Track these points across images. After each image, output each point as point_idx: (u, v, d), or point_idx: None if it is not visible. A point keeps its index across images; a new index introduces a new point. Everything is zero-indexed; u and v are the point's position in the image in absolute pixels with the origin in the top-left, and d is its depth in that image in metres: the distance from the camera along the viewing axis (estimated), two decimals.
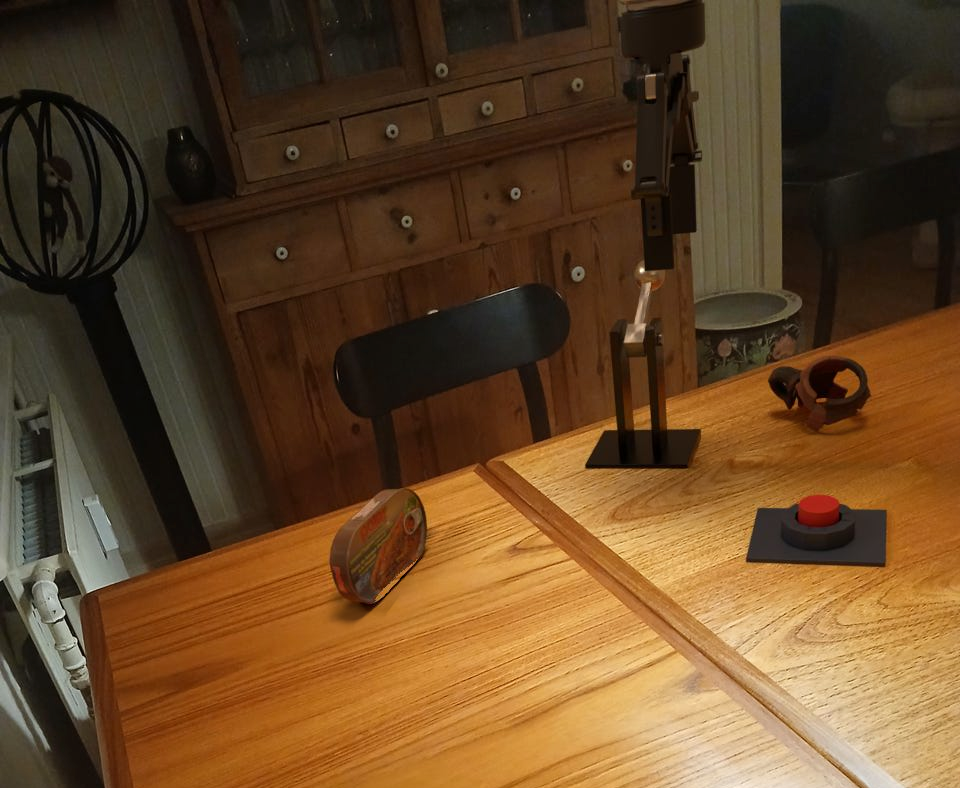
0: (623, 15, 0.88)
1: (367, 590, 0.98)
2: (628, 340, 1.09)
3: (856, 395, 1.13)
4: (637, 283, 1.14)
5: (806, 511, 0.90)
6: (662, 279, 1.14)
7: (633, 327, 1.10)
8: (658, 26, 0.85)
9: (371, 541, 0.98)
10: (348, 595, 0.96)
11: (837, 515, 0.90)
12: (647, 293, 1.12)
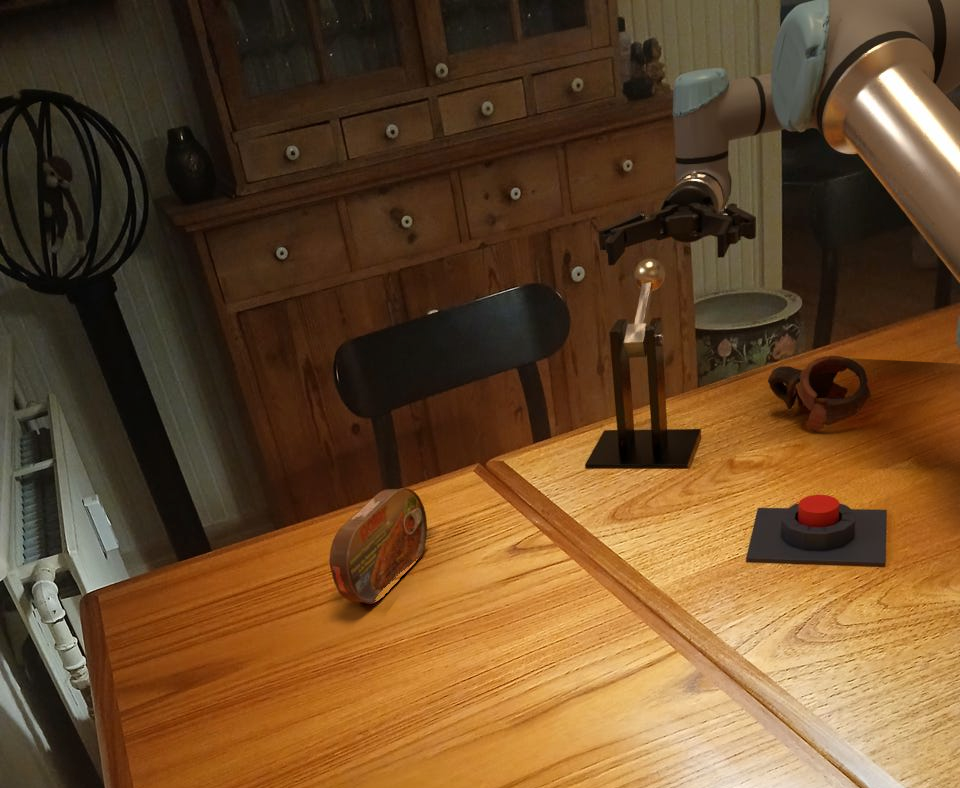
0: None
1: (367, 590, 0.98)
2: (628, 340, 1.09)
3: (856, 395, 1.13)
4: (637, 283, 1.14)
5: (806, 511, 0.90)
6: (662, 279, 1.14)
7: (633, 327, 1.10)
8: (717, 211, 1.35)
9: (371, 541, 0.98)
10: (348, 595, 0.96)
11: (837, 515, 0.90)
12: (647, 293, 1.12)
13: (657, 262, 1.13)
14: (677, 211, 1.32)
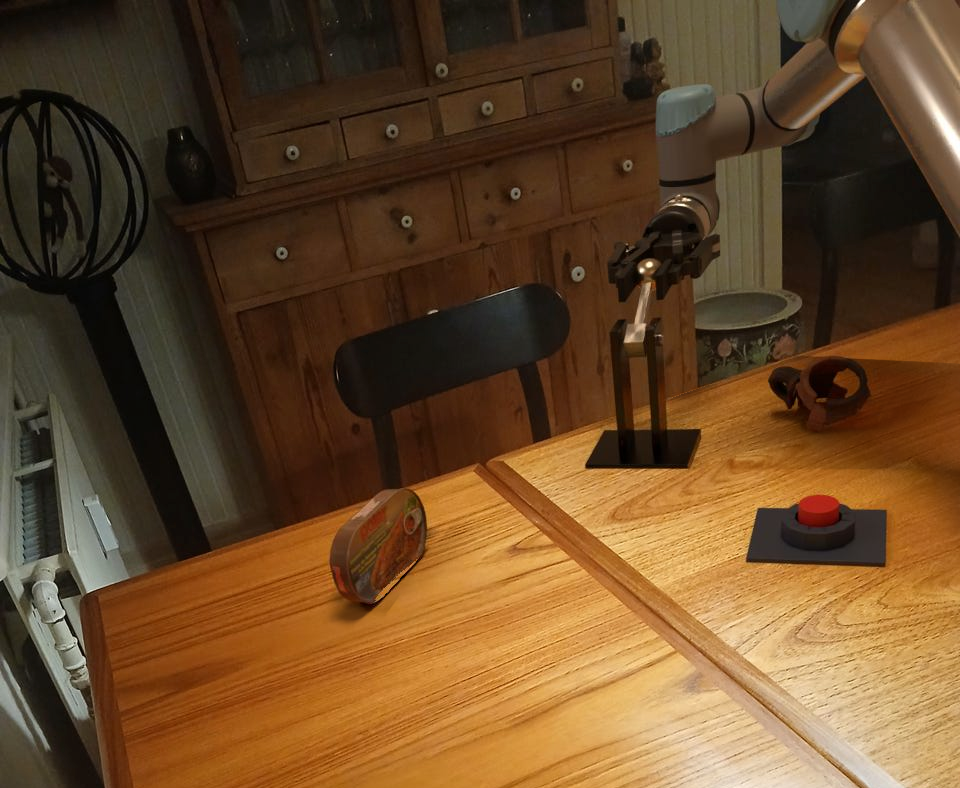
0: None
1: (367, 590, 0.98)
2: (628, 340, 1.09)
3: (856, 395, 1.13)
4: (637, 283, 1.14)
5: (806, 511, 0.90)
6: None
7: (633, 327, 1.10)
8: None
9: (371, 541, 0.98)
10: (348, 595, 0.96)
11: (837, 515, 0.90)
12: (647, 293, 1.12)
13: (657, 262, 1.13)
14: (659, 239, 1.22)
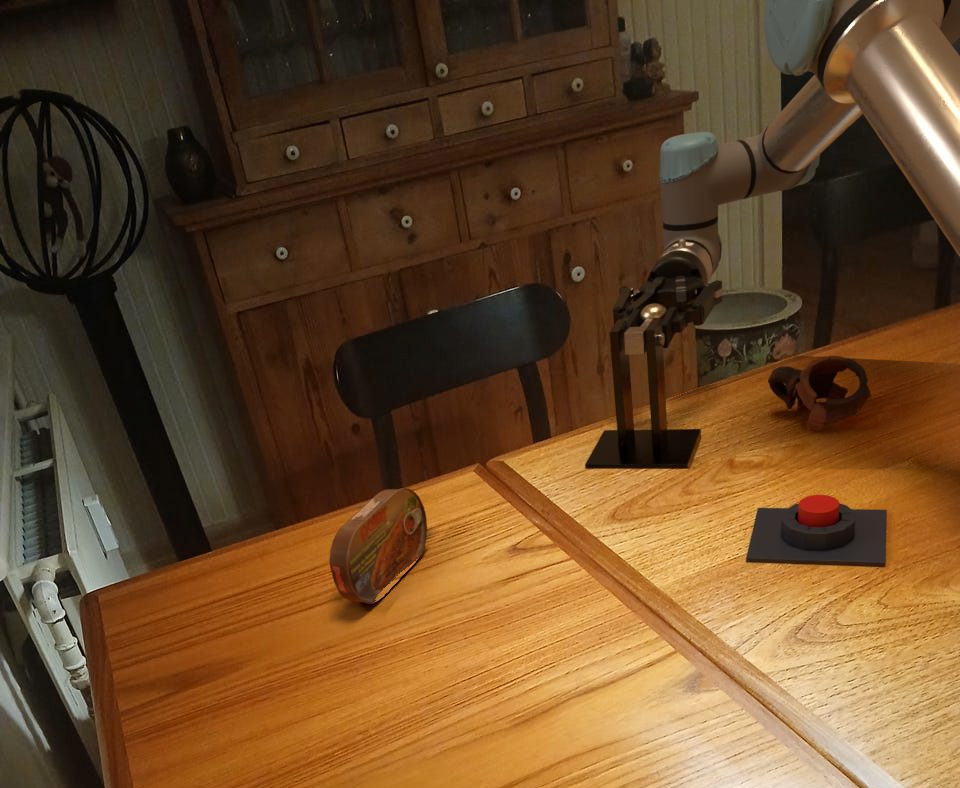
0: None
1: (367, 590, 0.98)
2: (629, 332, 1.09)
3: (856, 395, 1.13)
4: (641, 321, 1.18)
5: (806, 511, 0.90)
6: None
7: (635, 327, 1.10)
8: (705, 282, 1.30)
9: (371, 541, 0.98)
10: (348, 595, 0.96)
11: (837, 515, 0.90)
12: (650, 321, 1.15)
13: (663, 306, 1.18)
14: (663, 284, 1.26)
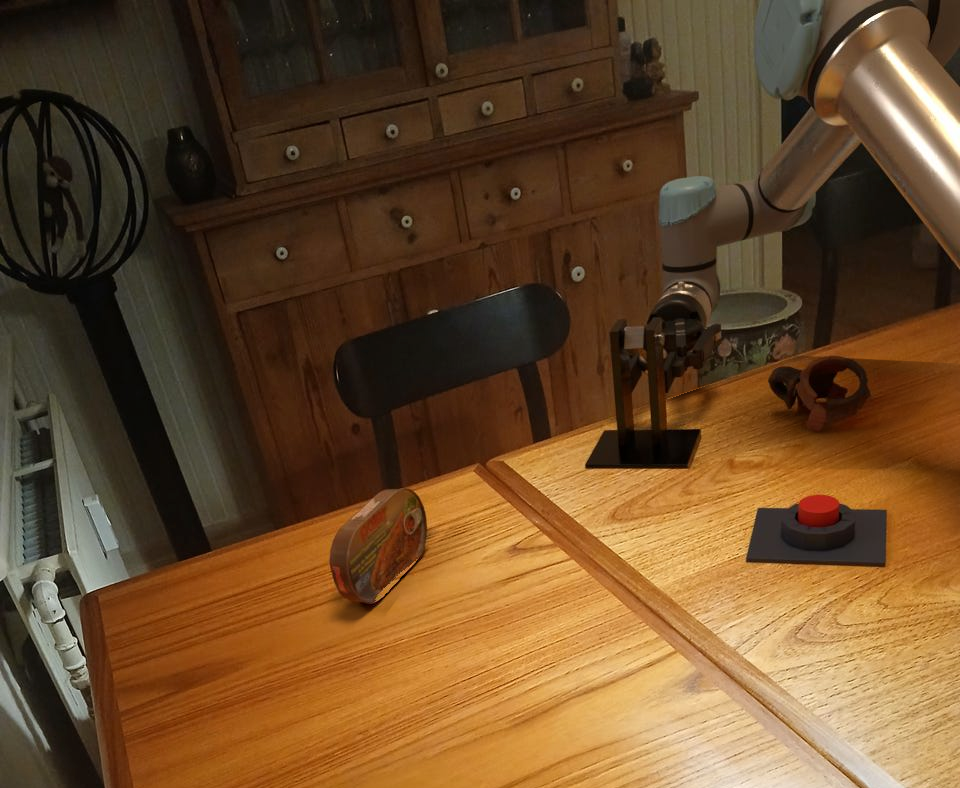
0: None
1: (367, 590, 0.98)
2: (630, 327, 1.09)
3: (856, 395, 1.13)
4: (641, 358, 1.19)
5: (806, 511, 0.90)
6: (665, 359, 1.18)
7: None
8: (705, 324, 1.31)
9: (371, 541, 0.98)
10: (348, 595, 0.96)
11: (837, 515, 0.90)
12: None
13: None
14: (663, 327, 1.28)
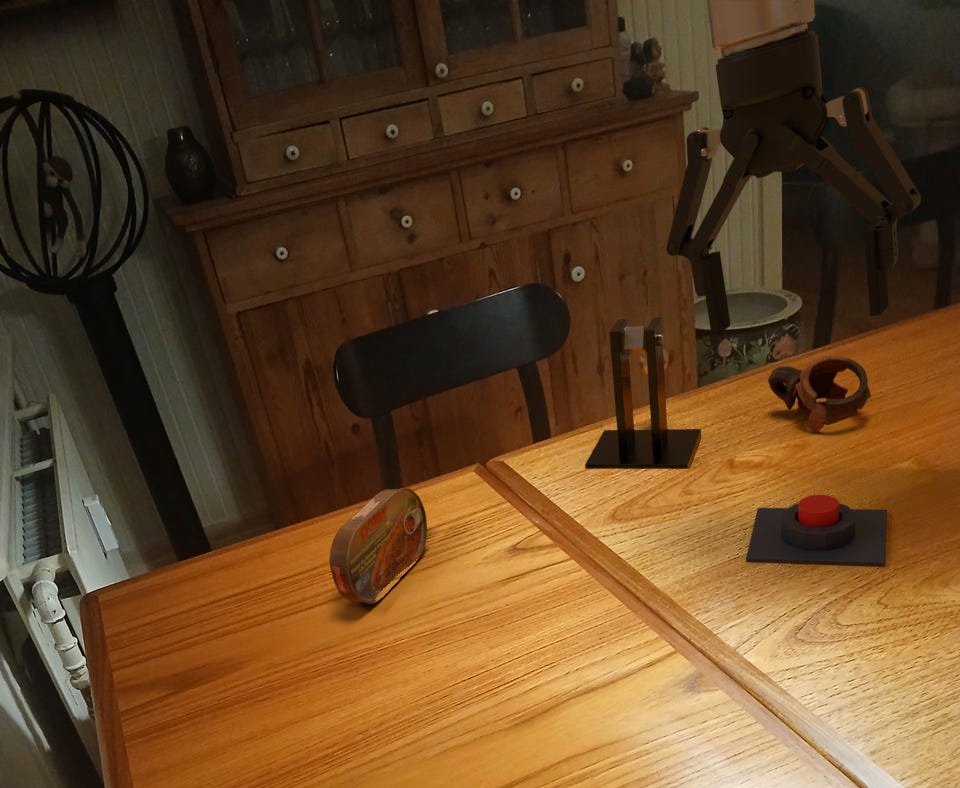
0: None
1: (367, 590, 0.98)
2: (630, 327, 1.09)
3: (856, 395, 1.13)
4: (641, 358, 1.19)
5: (806, 511, 0.90)
6: (665, 359, 1.18)
7: None
8: None
9: (371, 541, 0.98)
10: (348, 595, 0.96)
11: (837, 515, 0.90)
12: None
13: None
14: None
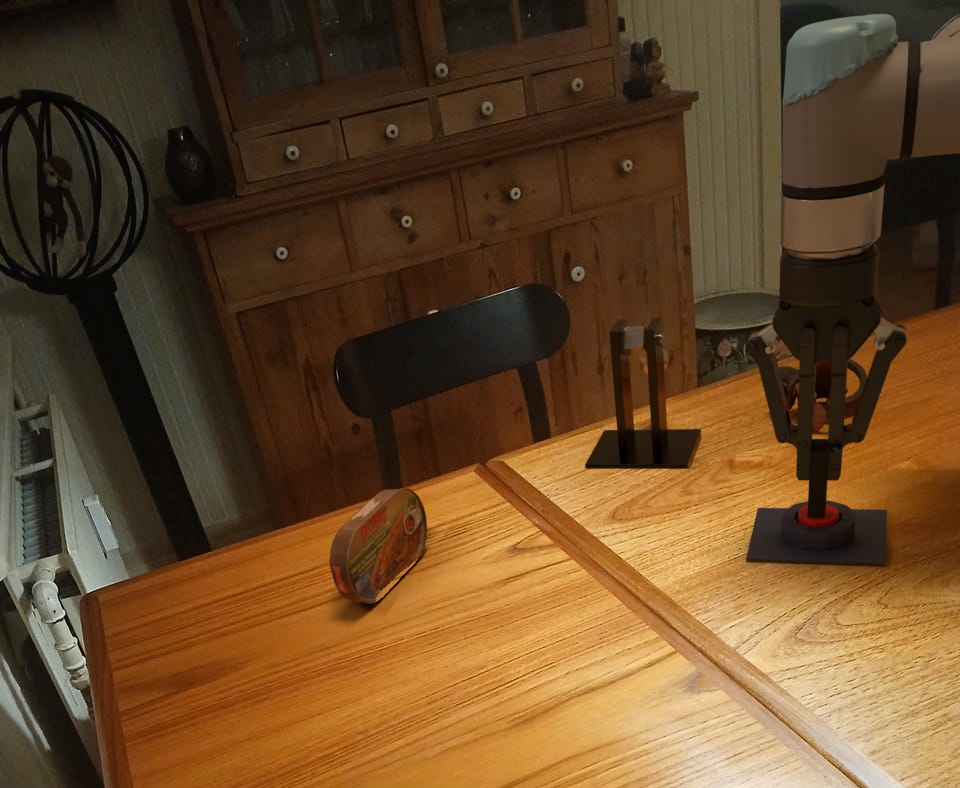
0: None
1: (367, 590, 0.98)
2: (630, 327, 1.09)
3: (856, 395, 1.13)
4: (641, 358, 1.19)
5: (805, 520, 0.91)
6: (665, 359, 1.18)
7: None
8: None
9: (371, 541, 0.98)
10: (348, 595, 0.96)
11: None
12: None
13: None
14: None
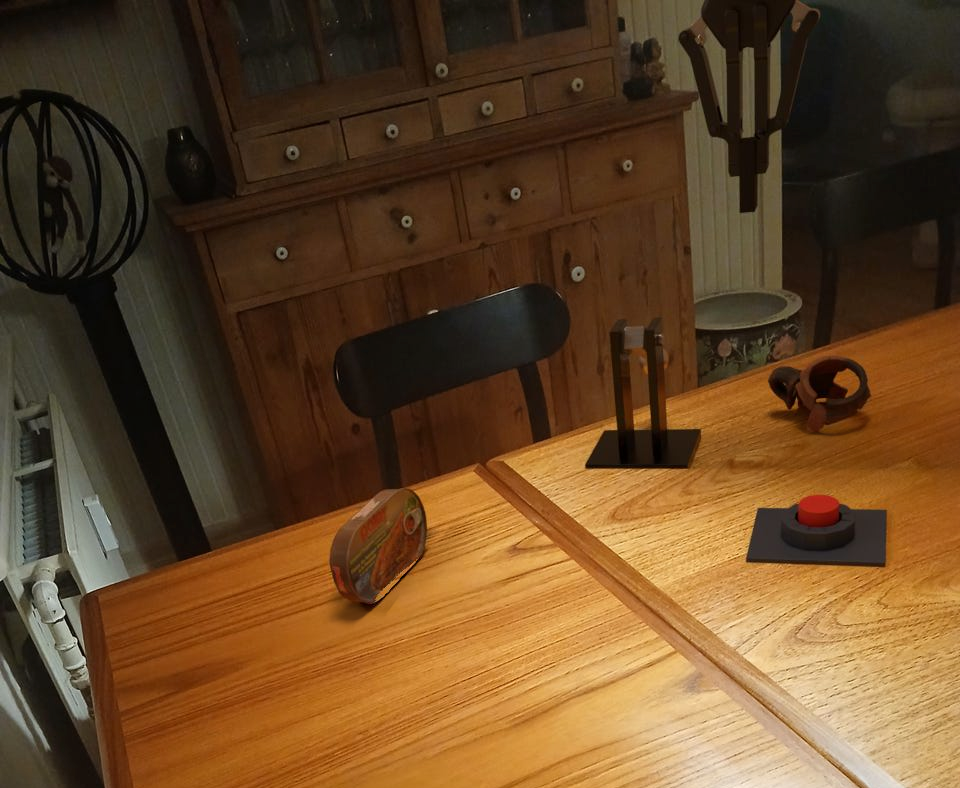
0: None
1: (367, 590, 0.98)
2: (630, 327, 1.09)
3: (856, 395, 1.13)
4: (641, 358, 1.19)
5: (806, 511, 0.90)
6: (665, 359, 1.18)
7: None
8: None
9: (371, 541, 0.98)
10: (348, 595, 0.96)
11: (837, 515, 0.90)
12: None
13: None
14: None
